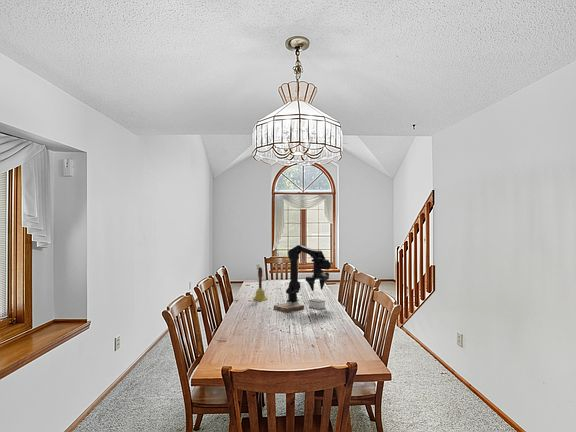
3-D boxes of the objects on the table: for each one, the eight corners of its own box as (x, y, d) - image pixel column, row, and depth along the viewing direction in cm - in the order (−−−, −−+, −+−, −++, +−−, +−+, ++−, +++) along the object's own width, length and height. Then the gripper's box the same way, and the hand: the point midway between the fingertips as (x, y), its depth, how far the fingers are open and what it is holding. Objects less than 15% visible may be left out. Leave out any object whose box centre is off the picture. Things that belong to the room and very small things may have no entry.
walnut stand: (273, 308, 274) (273, 305, 274) (290, 305, 285) (290, 302, 285) (287, 312, 264) (287, 308, 264) (304, 308, 274) (304, 305, 274)
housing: (309, 306, 282) (309, 299, 282) (315, 305, 286) (315, 298, 286) (319, 309, 274) (319, 302, 274) (325, 307, 278) (325, 300, 278)
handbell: (253, 301, 299) (253, 268, 299) (251, 298, 311) (251, 266, 311) (269, 300, 302) (269, 268, 302) (266, 297, 314) (266, 266, 314)
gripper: (316, 270, 268) (316, 293, 268) (334, 268, 280) (334, 290, 280) (305, 269, 276) (304, 291, 276) (323, 266, 289) (323, 288, 289)
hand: (317, 290), depth 280 cm, fingers open, 9 cm apart
